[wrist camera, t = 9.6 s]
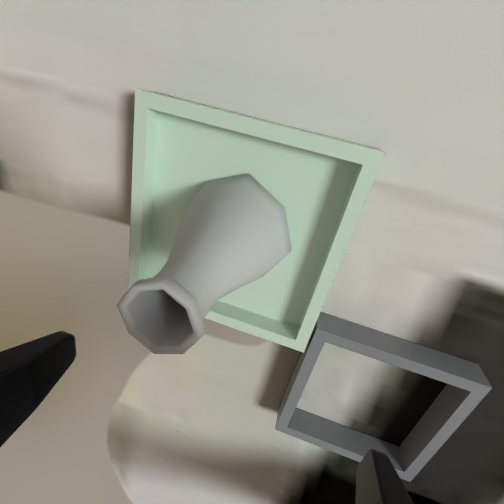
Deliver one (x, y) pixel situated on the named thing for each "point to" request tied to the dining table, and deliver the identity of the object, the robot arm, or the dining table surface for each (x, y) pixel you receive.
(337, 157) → the tray
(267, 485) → the dining table surface
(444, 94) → the dining table surface
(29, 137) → the dining table surface
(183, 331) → the flask
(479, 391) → the socket
